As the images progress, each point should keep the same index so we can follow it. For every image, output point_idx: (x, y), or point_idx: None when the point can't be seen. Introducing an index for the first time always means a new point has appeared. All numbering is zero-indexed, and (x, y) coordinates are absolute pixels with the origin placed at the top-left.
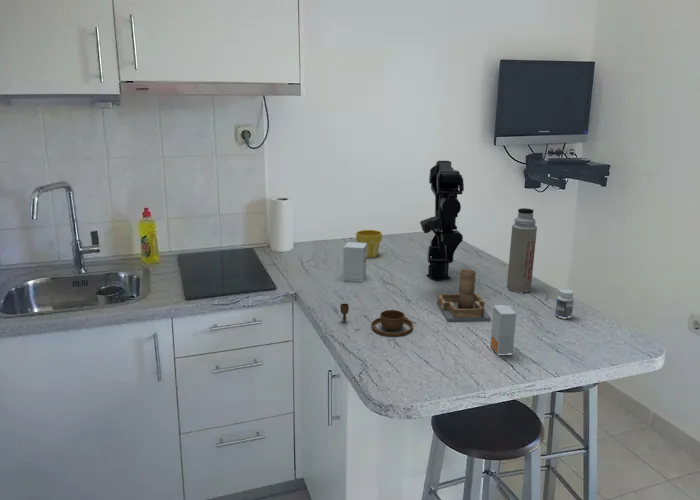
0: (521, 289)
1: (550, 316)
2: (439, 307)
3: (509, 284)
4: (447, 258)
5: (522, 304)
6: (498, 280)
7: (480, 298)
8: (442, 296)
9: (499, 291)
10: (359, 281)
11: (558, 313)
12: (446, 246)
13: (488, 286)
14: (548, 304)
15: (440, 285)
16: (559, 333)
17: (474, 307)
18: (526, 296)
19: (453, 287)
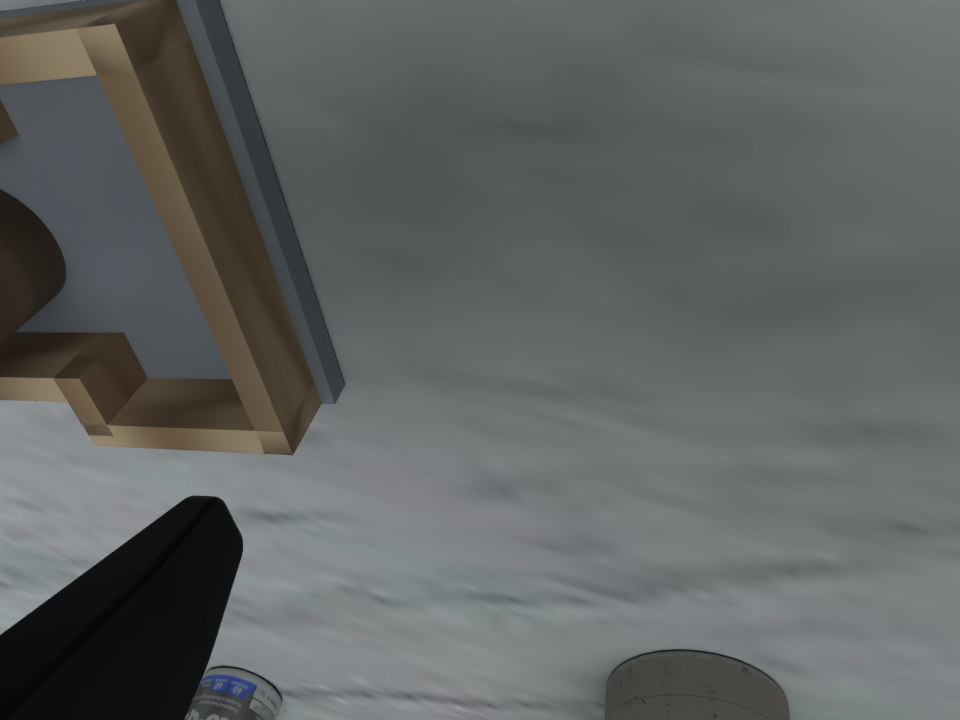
0: (606, 707)
1: (230, 652)
2: (77, 3)
3: (670, 696)
4: (163, 533)
5: (385, 617)
6: (940, 673)
7: (167, 439)
8: (112, 84)
9: (648, 597)
10: None
11: (201, 692)
12: None
13: (790, 574)
14: (410, 706)
15: (953, 142)
16: (23, 603)
17: (99, 343)
18: (539, 679)
19: (824, 290)
